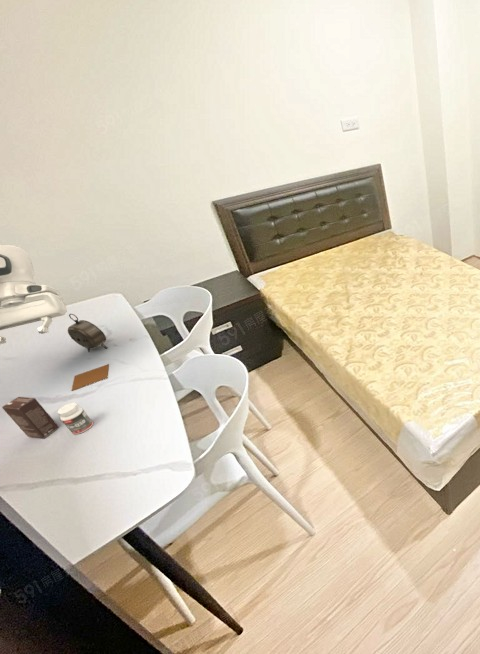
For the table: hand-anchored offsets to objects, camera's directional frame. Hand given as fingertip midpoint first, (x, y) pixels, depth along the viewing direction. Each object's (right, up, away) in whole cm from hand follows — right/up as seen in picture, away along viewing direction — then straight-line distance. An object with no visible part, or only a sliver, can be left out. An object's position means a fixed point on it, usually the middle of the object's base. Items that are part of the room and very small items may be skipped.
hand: (22, 338), depth 118 cm
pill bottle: (+19, -27, -1) cm, 33 cm away
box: (+9, -27, -2) cm, 29 cm away
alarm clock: (-11, -9, +32) cm, 35 cm away
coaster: (+2, -16, +18) cm, 24 cm away
